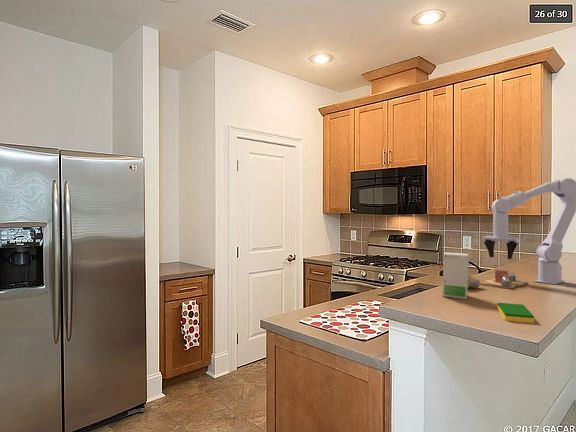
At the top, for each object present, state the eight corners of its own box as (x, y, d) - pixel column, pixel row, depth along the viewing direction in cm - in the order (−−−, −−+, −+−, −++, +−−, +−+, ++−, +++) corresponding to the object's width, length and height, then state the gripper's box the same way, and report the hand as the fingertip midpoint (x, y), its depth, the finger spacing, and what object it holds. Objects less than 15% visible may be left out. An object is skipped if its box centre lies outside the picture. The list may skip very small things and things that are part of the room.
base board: (498, 279, 169) (498, 277, 169) (527, 283, 159) (527, 281, 159) (478, 284, 159) (478, 282, 159) (508, 289, 149) (508, 286, 149)
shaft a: (508, 279, 165) (508, 271, 165) (516, 280, 162) (516, 272, 162) (502, 280, 162) (502, 272, 162) (511, 281, 160) (511, 274, 160)
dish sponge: (504, 322, 108) (504, 313, 108) (497, 309, 121) (497, 302, 121) (534, 324, 105) (534, 315, 105) (523, 311, 118) (523, 304, 118)
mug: (485, 290, 149) (476, 269, 147) (462, 300, 150) (452, 279, 148) (478, 282, 156) (468, 261, 154) (455, 291, 158) (445, 271, 156)
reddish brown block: (497, 280, 161) (497, 268, 161) (509, 281, 159) (509, 269, 159) (495, 282, 158) (495, 270, 158) (507, 283, 155) (507, 271, 155)
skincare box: (442, 296, 137) (442, 253, 137) (444, 293, 143) (444, 251, 143) (467, 299, 133) (467, 255, 133) (468, 295, 139) (468, 252, 139)
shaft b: (499, 283, 155) (499, 276, 155) (509, 284, 154) (509, 276, 154) (501, 285, 151) (501, 277, 151) (511, 286, 150) (511, 278, 150)
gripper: (479, 226, 169) (479, 257, 169) (514, 227, 157) (514, 260, 157) (487, 226, 173) (487, 255, 173) (521, 227, 161) (521, 259, 162)
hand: (500, 258), depth 166 cm, fingers open, 7 cm apart
